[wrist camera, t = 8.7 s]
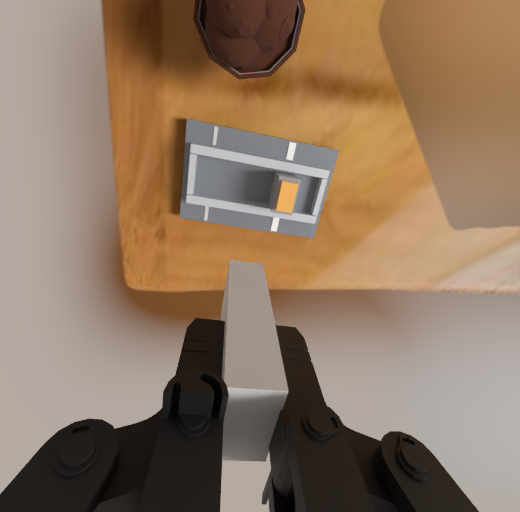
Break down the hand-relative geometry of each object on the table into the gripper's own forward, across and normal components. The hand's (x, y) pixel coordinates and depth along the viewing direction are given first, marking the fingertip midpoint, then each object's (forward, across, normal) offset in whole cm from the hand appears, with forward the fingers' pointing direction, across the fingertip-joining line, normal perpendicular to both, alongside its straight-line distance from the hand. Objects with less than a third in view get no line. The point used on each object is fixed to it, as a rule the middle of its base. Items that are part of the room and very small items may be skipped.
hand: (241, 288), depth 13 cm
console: (+33, +3, 0) cm, 33 cm away
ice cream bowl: (+33, -2, +17) cm, 37 cm away
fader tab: (+31, +7, 0) cm, 32 cm away
